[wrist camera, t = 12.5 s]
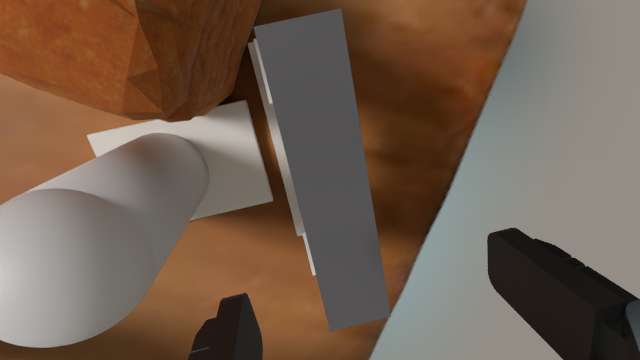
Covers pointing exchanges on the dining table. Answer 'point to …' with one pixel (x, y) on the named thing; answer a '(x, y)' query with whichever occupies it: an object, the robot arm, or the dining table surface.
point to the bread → (129, 52)
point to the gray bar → (326, 161)
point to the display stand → (127, 218)
